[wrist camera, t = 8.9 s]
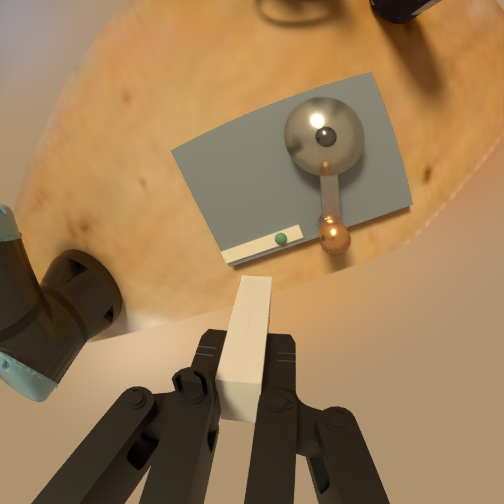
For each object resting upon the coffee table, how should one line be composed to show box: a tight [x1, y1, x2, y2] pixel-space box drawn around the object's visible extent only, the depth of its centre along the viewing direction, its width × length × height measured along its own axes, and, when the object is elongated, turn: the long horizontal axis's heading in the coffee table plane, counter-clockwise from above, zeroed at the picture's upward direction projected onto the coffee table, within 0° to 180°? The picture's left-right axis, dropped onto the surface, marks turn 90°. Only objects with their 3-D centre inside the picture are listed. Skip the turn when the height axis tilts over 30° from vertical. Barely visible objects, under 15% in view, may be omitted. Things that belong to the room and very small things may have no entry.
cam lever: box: [284, 97, 365, 255], centre depth 27 cm, size 16×8×5 cm, turn 9°
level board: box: [171, 72, 413, 267], centre depth 30 cm, size 24×16×2 cm, turn 114°
